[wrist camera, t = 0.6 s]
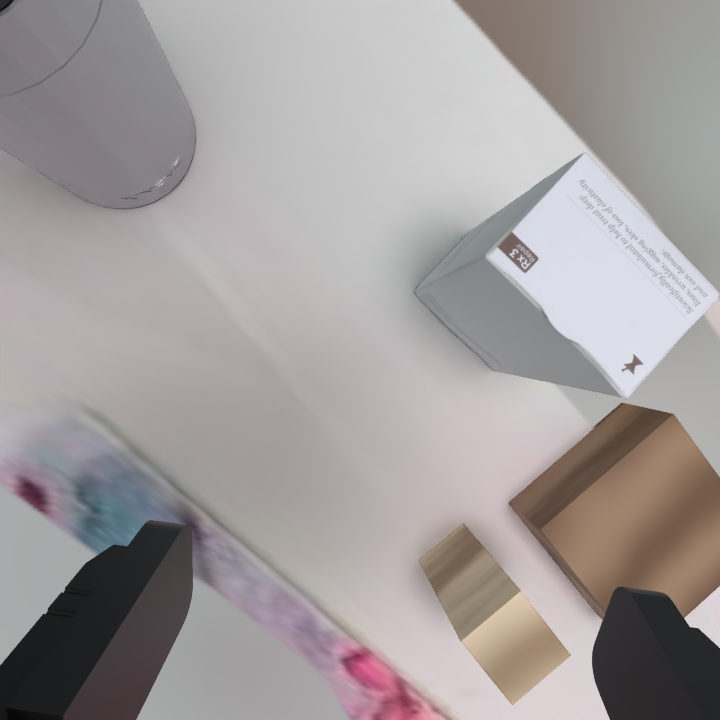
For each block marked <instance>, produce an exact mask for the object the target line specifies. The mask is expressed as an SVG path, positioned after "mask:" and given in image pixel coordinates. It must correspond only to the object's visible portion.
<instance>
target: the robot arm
mask: <svg viewBox="0 0 720 720" xmlns="http://www.w3.org/2000/svg"><path fill="white" fill-rule="evenodd" d="M195 142H196V137H195V124H194V120H193V116H192V113H191V109H190V107H189V105H188V103H187V101H186V99H185V97H184V94H183V92H182V90H181V88H180V86H179V84H178V82H177V80H176V78H175V76H174V74H173V71H172V69H171V67H170V65H169V63H168V61H167V59H166V57H165V55H164V52H163V50H162V48H161V46H160V44H159V42H158V40H157V38H156V36H155V34H154V32H153V30H152V28H151V26H150V24H149V22H148V20H147V18H146V16H145V14H144V12H143V10H142V8H141V6H140V4H139V1H138V0H0V148H1V149H3V150H4V151H6V152H8V153H9V154H11V155H12V156H14V157H16V158H17V159H19V160H20V161H22V162H24V163H25V164H27V165H29V166H30V167H32V168H33V169H35V170H37V171H38V172H40V173H41V174H43V175H44V176H46V177H48V178H49V179H51V180H53V181H54V182H56V183H57V184H59V185H61V186H62V187H64V188H66V189H67V190H69V191H70V192H72V193H74V194H75V195H77V196H79V197H81V198H83V199H85V200H86V201H88V202H91V203H94V204H97V205H100V206H104V207H110V208H119V209H125V208H135V207H140V206H143V205H147V204H150V203H153V202H155V201H157V200H158V199H160V198H162V197H163V196H165V195H167V194H168V193H169V192H170V191H171V190H172V189H174V188H175V187H176V186H177V185H178V184H179V182H180V181H181V180H182V178H183V177H184V175H185V174H186V172H187V171H188V168H189V166H190V163H191V161H192V158H193V155H194V148H195ZM192 589H193V569H192V530H191V527H190V526H189V525H183V524H176V523H169V522H162V521H154V520H149V521H148V522H146V523H145V524H144V525H143V527H142V528H141V529H140V531H139V532H138V533H137V535H136V536H135V537H134V539H133V540H132V541H131V542H130V544H129V545H128V546H120V545H112V546H111V547H109V548H108V549H106V550H105V551H103V552H102V553H100V554H99V555H97V556H96V557H94V558H93V559H91V560H90V561H88V562H87V563H86V564H85V565H84V566H83V567H82V568H81V570H80V571H79V572H78V573H77V574H76V576H75V577H74V578H73V579H72V580H71V581H70V583H69V584H68V585H67V586H66V588H65V591H64V593H61V594H60V595H59V596H58V597H57V598H56V599H55V601H54V602H53V603H52V604H51V605H50V607H49V608H48V611H47V613H46V614H43V615H42V616H41V617H40V619H39V620H38V621H37V622H36V623H35V625H34V626H33V627H32V628H31V629H30V631H29V632H28V633H27V634H26V635H25V637H24V638H23V639H22V640H21V641H20V643H19V644H18V645H17V646H16V648H15V649H14V650H13V651H12V652H11V653H10V654H9V656H8V657H7V658H6V659H5V660H4V662H3V663H2V664H1V665H0V720H136V719H137V716H138V715H139V713H140V711H141V709H142V707H143V705H144V703H145V701H146V699H147V697H148V695H149V693H150V691H151V688H152V686H153V684H154V682H155V680H156V678H157V676H158V674H159V672H160V670H161V668H162V666H163V664H164V662H165V660H166V658H167V656H168V654H169V652H170V650H171V648H172V646H173V644H174V642H175V640H176V638H177V636H178V634H179V632H180V630H181V628H182V626H183V624H184V621H185V619H186V616H187V613H188V610H189V606H190V602H191V598H192ZM592 667H593V674H594V679H595V682H596V685H597V688H598V691H599V693H600V696H601V698H602V701H603V703H604V706H605V708H606V711H607V713H608V716H609V718H610V720H720V648H719V647H718V646H717V645H716V644H715V643H714V642H712V641H711V640H710V639H709V638H708V637H707V636H706V635H705V634H704V633H703V632H702V631H700V630H699V629H698V628H692V627H689V625H688V624H687V622H686V621H685V619H684V618H683V616H682V615H681V613H680V612H679V610H678V609H677V607H676V606H675V604H674V603H673V601H672V600H671V599H670V597H669V596H668V595H666V594H665V593H662V592H657V591H650V590H643V589H636V588H628V587H618V588H616V589H615V590H614V592H613V594H612V596H611V599H610V602H609V605H608V607H607V610H606V613H605V616H604V619H603V621H602V624H601V627H600V630H599V632H598V635H597V638H596V641H595V644H594V647H593V653H592Z"/></svg>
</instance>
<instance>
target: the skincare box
mask: <svg viewBox="0 0 720 720" xmlns="http://www.w3.org/2000/svg"><path fill="white" fill-rule="evenodd" d="M414 293H415V294H416V295H417V296H418V298H419V299H420V300H421V301H422V302H423V303H424V304H425V305H426V306H427V307H428V308H429V309H430V310H431V311H432V312H433V313H434V314H435V315H437V316H438V317H439V318H440V319H441V321H442V322H443V323H444V324H445V325H446V326H448V327H449V328H450V329H451V330H452V331H453V332H454V333H455V334H456V335H457V336H458V337H459V338H460V339H461V340H462V341H463V342H464V343H465V344H466V345H467V346H468V347H469V348H470V349H472V350H473V351H474V352H475V353H476V354H478V355H479V356H480V357H481V358H482V359H483V360H484V361H485V362H486V363H487V364H488V365H489V366H490V367H491V368H492V369H493V370H494V371H497V372H502V373H507V374H512V375H517V376H521V377H526V378H531V379H536V380H540V381H546V382H551V383H555V384H560V385H565V386H570V387H575V388H580V389H584V390H589V391H594V392H599V393H604V394H608V395H613V396H618V397H622V398H626V399H627V398H628V397H629V396H630V395H631V394H632V393H633V391H634V390H635V389H636V388H637V387H638V385H639V384H640V383H641V382H642V381H643V380H644V379H645V378H646V377H647V376H648V375H649V374H650V372H651V371H652V370H653V369H654V368H655V367H656V366H657V365H658V363H659V362H660V361H661V360H662V359H663V358H664V357H665V356H666V354H667V353H668V352H669V351H670V350H671V349H672V347H673V346H674V345H675V344H676V343H677V341H678V340H679V339H680V338H681V337H682V336H683V335H684V333H685V332H686V331H687V330H688V329H689V328H690V327H691V326H692V325H693V324H694V323H695V322H696V321H697V320H698V319H699V318H700V317H701V316H702V315H703V314H704V313H705V312H706V310H707V309H708V308H709V307H710V306H711V305H712V304H713V303H714V302H715V301H716V299H717V298H718V297H719V292H718V291H717V290H716V289H715V288H714V287H713V286H712V285H711V284H710V282H709V281H708V280H707V279H706V278H705V277H704V276H703V275H702V274H701V273H700V272H699V271H698V270H697V269H696V268H695V267H694V266H693V265H692V264H691V263H690V262H689V261H688V259H686V257H685V256H684V255H683V254H682V253H681V252H680V251H679V250H678V249H677V248H676V247H675V246H674V245H673V244H672V243H671V242H670V241H669V240H668V238H667V237H666V236H665V235H664V234H663V233H662V232H661V231H660V230H659V229H658V228H657V227H656V226H655V225H654V223H653V222H652V221H651V220H650V219H649V218H648V217H647V216H646V215H645V214H644V213H643V212H642V211H641V210H640V209H639V208H638V207H637V206H636V205H635V203H634V202H633V201H632V200H631V199H630V198H629V197H628V196H627V195H626V194H625V193H624V192H623V191H622V190H621V189H620V188H619V187H618V186H617V185H616V184H615V182H614V181H613V180H612V179H611V178H610V177H609V176H608V175H607V174H606V173H605V172H604V171H603V170H602V169H601V168H600V167H599V166H598V164H597V163H596V162H595V161H594V160H593V159H592V158H591V157H590V156H589V155H588V154H587V153H583V154H581V155H579V156H578V157H576V158H575V159H573V160H572V161H570V162H569V163H567V164H566V165H564V166H563V167H561V168H560V169H559V170H557V171H556V172H554V173H553V174H551V175H550V176H548V177H547V178H545V179H543V180H542V181H541V182H539V183H538V184H536V185H535V186H534V187H532V188H531V189H530V190H529V191H527V192H526V193H524V194H523V195H521V196H520V197H519V198H517V199H516V200H514V201H513V202H511V203H510V204H508V205H507V206H506V207H504V208H503V209H501V210H500V211H498V212H497V213H495V214H494V215H493V216H491V217H490V218H488V219H487V220H486V221H484V222H483V223H481V224H480V225H478V226H477V227H475V228H474V229H472V230H471V231H470V232H469V233H468V234H467V235H466V236H465V237H464V238H463V239H462V240H461V241H460V242H459V243H458V244H457V245H456V246H455V248H454V249H453V250H452V251H451V252H450V253H449V254H448V255H447V256H446V257H445V258H444V259H443V260H442V261H441V262H440V263H439V265H438V266H437V267H436V268H435V269H434V270H433V271H432V272H431V273H430V274H429V275H428V276H427V277H426V278H425V279H424V281H423V282H422V283H421V284H420V285H419V286H418V287H417V288H416V289H415V290H414Z"/></svg>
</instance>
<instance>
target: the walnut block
mask: <svg viewBox="0 0 720 720" xmlns="http://www.w3.org/2000/svg"><path fill="white" fill-rule="evenodd" d="M593 428H594V430H592V431H591V432H590V433H589V434H588V435H587V436H585V437H584V438H583V439H582V440H581V441H580V442H579V443H577V444H576V445H575V446H574V447H573V448H572V449H570V450H569V451H568V452H567V453H566V454H565V455H563V456H562V457H561V458H560V459H559V460H558V461H556V462H555V463H554V464H553V465H552V466H551V467H550V468H548V469H547V470H546V471H545V472H544V473H543V474H541V475H540V476H539V477H538V478H537V479H536V480H534V481H533V482H532V483H531V484H530V485H529V486H527V487H526V488H525V489H524V490H523V491H522V492H521V493H519V494H518V495H517V496H516V497H515V498H514V499H512V500H511V501H510V502H509V505H510V506H511V507H512V508H513V510H514V511H515V512H516V513H517V515H518V516H519V517H520V518H521V520H522V521H523V522H524V523H525V525H526V526H527V527H528V528H529V530H530V531H531V532H532V533H533V535H534V536H535V537H536V538H537V540H538V541H539V542H540V543H541V545H542V546H543V547H544V548H545V550H546V551H547V552H548V553H549V555H550V556H551V557H552V558H553V560H554V561H555V562H556V563H557V565H558V566H559V567H560V568H561V570H562V571H563V572H564V573H565V575H566V576H567V577H568V578H569V580H570V581H571V582H572V583H573V585H574V586H575V587H576V588H577V590H578V591H579V592H580V593H581V595H582V596H583V597H584V598H585V600H586V601H587V602H588V603H589V605H590V606H591V607H592V609H593V610H594V611H595V612H596V614H597V615H598V616H599V617H600V618H602V619H604V616H605V613H606V610H607V607H608V605H609V602H610V599H611V596H612V594H613V592H614V590H615V589H616V588H618V587H628V588H636V589H643V590H650V591H657V592H662V593H665V594H666V595H668V596H669V597H670V599H671V600H672V601H673V603H674V604H675V606H676V607H677V609H678V610H679V612H680V613H681V615H682V616H683V618H685V617H686V616H687V615H688V614H689V613H690V612H691V611H692V610H693V609H695V608H696V607H697V606H698V605H699V604H700V603H701V602H702V601H703V600H705V599H706V598H707V597H708V596H709V595H710V594H711V593H712V592H713V591H715V590H716V589H717V588H718V587H719V586H720V477H719V476H718V475H717V473H716V472H715V470H714V469H713V468H712V466H711V465H710V464H709V462H708V461H707V459H706V458H705V457H704V455H703V454H702V453H701V451H700V450H699V448H698V447H697V446H696V444H695V443H694V442H693V440H692V439H691V438H690V436H689V435H688V433H687V432H686V430H685V429H684V428H683V426H682V425H681V423H680V422H679V421H678V419H677V418H676V417H675V415H674V414H671V413H667V412H662V411H658V410H653V409H648V408H644V407H639V406H635V405H630V404H625V403H620V404H619V405H618V406H617V407H616V408H615V409H614V410H612V411H611V412H610V413H609V414H608V415H606V416H605V417H604V418H603V419H602V420H601V421H600V422H598V423H597V424H596V425H595V426H594V427H593Z"/></svg>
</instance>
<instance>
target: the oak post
mask: <svg viewBox="0 0 720 720" xmlns="http://www.w3.org/2000/svg"><path fill="white" fill-rule="evenodd" d="M419 562H420V564H421V566H422V567H423V569H424V571H425V573H426V575H427V577H428V579H429V581H430V583H431V585H432V587H433V589H434V591H435V593H436V595H437V596H438V598H439V600H440V602H441V604H442V606H443V608H444V610H445V612H446V614H447V616H448V618H449V620H450V622H451V624H452V625H453V627H454V629H455V631H456V633H457V635H458V637H459V639H460V641H461V642H462V644H463V645H464V646H465V647H466V649H467V650H468V651H469V652H470V654H471V655H472V656H473V657H474V658H475V660H476V661H477V662H478V663H479V665H480V666H481V667H482V668H483V670H484V671H485V672H486V673H487V675H488V676H489V677H490V678H491V680H492V681H493V682H494V683H495V684H496V686H497V687H498V688H499V689H500V691H501V692H502V693H503V694H504V696H505V697H506V698H507V699H508V701H509V702H510V703H511V704H512V705H513V704H515V703H516V702H517V701H518V700H519V699H520V698H522V697H523V696H524V695H525V694H526V693H527V692H529V691H530V690H531V689H532V688H533V687H534V686H536V685H537V684H538V683H539V682H540V681H541V680H543V679H544V678H545V677H546V676H547V675H548V674H550V673H551V672H552V671H553V670H554V669H555V668H557V667H558V666H559V665H560V664H561V663H562V662H564V661H565V660H566V659H567V658H568V657H569V656H571V655H570V653H569V652H568V651H567V650H566V648H565V647H564V646H563V644H562V643H561V642H560V641H559V639H558V638H557V637H556V635H555V634H554V633H553V632H552V630H551V629H550V628H549V626H548V625H547V624H546V622H545V621H544V620H543V619H542V617H541V616H540V615H539V613H538V612H537V611H536V610H535V608H534V607H533V606H532V604H531V603H530V602H529V601H528V599H527V598H526V597H525V595H524V594H523V593H522V592H521V590H520V589H519V588H518V587H517V586H516V584H515V583H514V582H513V581H512V580H511V579H510V577H509V576H508V575H507V574H506V573H505V572H504V570H503V569H502V568H501V567H500V566H499V565H498V563H497V562H496V561H495V560H494V559H493V558H492V556H491V555H490V554H489V553H488V552H487V550H486V549H485V548H484V547H483V546H482V545H481V543H480V542H479V541H478V540H477V539H476V538H475V536H474V535H473V534H472V533H471V532H470V531H469V529H468V528H467V527H466V526H465V525H464V524H462V525H461V526H460V527H459V528H458V529H456V530H455V531H454V532H453V533H451V534H450V535H449V536H448V537H447V538H445V539H444V540H443V541H442V542H441V543H439V544H438V545H437V546H436V547H434V548H433V549H432V550H431V551H430V552H428V553H427V554H426V555H425V556H423V557H422V558H421V559H420V560H419Z"/></svg>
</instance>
